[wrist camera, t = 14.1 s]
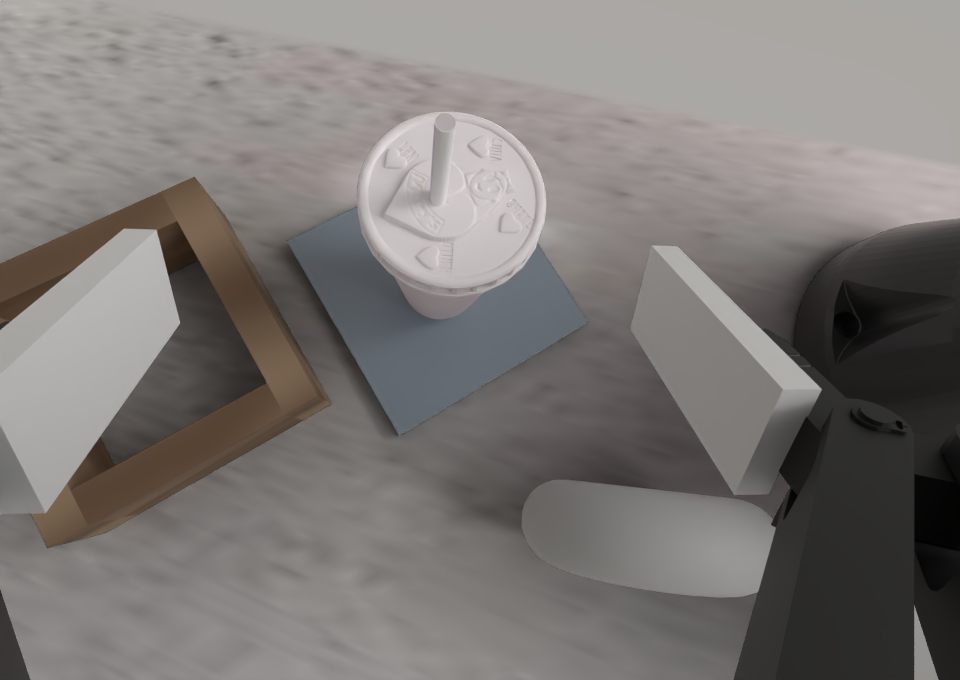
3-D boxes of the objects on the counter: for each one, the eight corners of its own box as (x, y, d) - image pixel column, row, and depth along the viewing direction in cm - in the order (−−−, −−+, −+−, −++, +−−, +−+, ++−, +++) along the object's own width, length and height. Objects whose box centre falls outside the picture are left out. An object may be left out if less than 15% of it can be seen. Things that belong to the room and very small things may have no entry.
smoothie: (358, 243, 27) (304, 35, 14) (478, 209, 28) (538, -14, 15) (398, 363, 26) (382, 269, 13) (521, 323, 28) (627, 197, 14)
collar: (331, 404, 26) (318, 395, 23) (105, 532, 24) (47, 548, 20) (224, 215, 28) (194, 176, 24) (0, 321, 25) (-75, 297, 21)
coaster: (583, 325, 29) (588, 322, 28) (399, 436, 26) (399, 435, 26) (475, 155, 30) (476, 147, 29) (290, 247, 28) (286, 241, 27)
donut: (699, 491, 28) (854, 512, 18) (697, 563, 27) (858, 625, 17) (505, 469, 27) (560, 479, 17) (498, 543, 26) (551, 597, 16)
